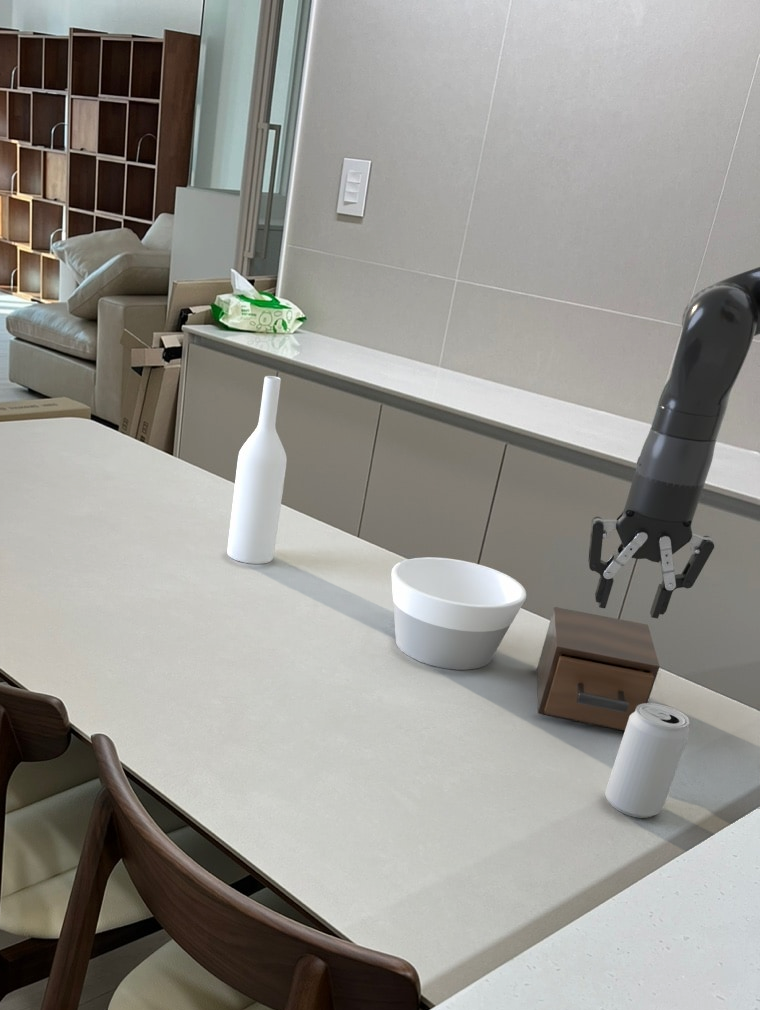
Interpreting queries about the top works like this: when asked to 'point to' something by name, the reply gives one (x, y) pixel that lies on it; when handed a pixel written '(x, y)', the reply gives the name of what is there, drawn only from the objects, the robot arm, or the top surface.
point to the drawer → (597, 691)
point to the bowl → (452, 611)
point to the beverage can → (647, 760)
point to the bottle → (258, 486)
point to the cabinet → (593, 647)
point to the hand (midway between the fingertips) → (627, 610)
